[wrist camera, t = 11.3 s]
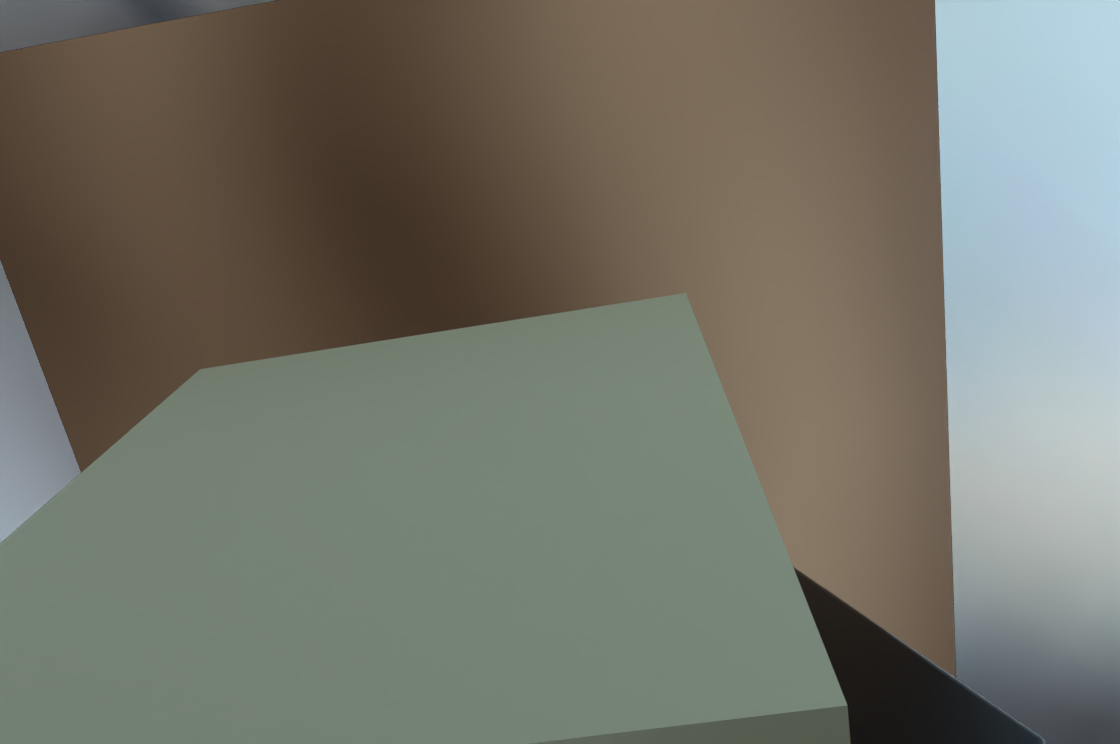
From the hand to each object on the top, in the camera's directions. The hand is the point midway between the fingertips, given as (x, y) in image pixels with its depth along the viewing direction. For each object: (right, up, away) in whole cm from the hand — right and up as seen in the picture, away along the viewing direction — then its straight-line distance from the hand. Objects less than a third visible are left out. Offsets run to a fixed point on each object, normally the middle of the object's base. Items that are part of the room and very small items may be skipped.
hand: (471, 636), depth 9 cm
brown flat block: (0, +3, +8) cm, 8 cm away
